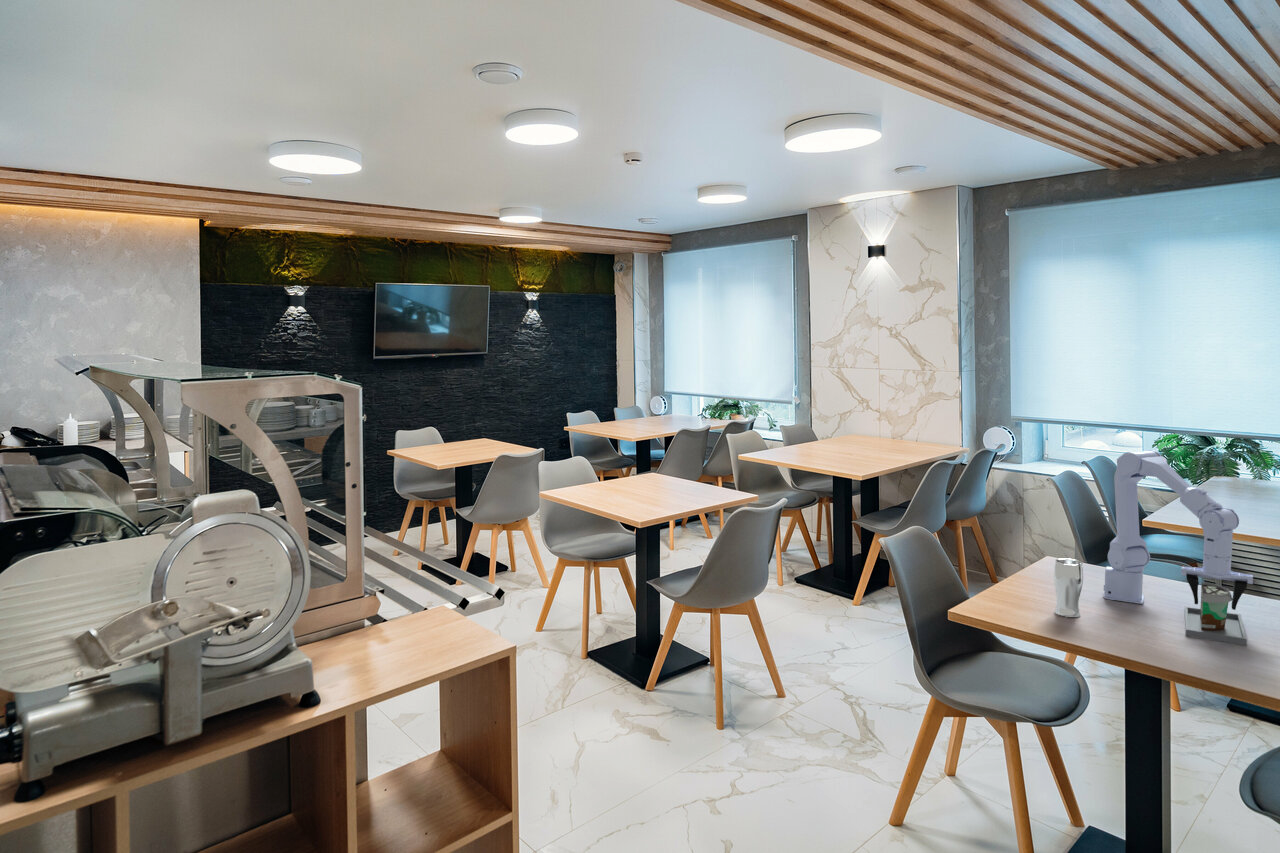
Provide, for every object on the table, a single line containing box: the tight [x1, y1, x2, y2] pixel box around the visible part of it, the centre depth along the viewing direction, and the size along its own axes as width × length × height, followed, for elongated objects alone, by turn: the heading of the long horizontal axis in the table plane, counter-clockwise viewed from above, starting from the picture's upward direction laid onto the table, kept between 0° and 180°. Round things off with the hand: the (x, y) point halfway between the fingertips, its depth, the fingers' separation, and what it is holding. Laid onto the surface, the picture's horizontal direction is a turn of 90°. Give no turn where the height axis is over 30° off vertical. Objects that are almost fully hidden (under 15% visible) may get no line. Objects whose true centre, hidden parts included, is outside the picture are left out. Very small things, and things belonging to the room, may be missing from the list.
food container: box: [1200, 581, 1233, 631], centre depth 191 cm, size 12×6×10 cm, turn 144°
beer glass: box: [1053, 558, 1084, 618], centre depth 203 cm, size 7×7×15 cm
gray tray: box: [1184, 606, 1248, 646], centre depth 191 cm, size 12×20×2 cm, turn 144°
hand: (1214, 605), depth 191 cm, fingers open, 7 cm apart
